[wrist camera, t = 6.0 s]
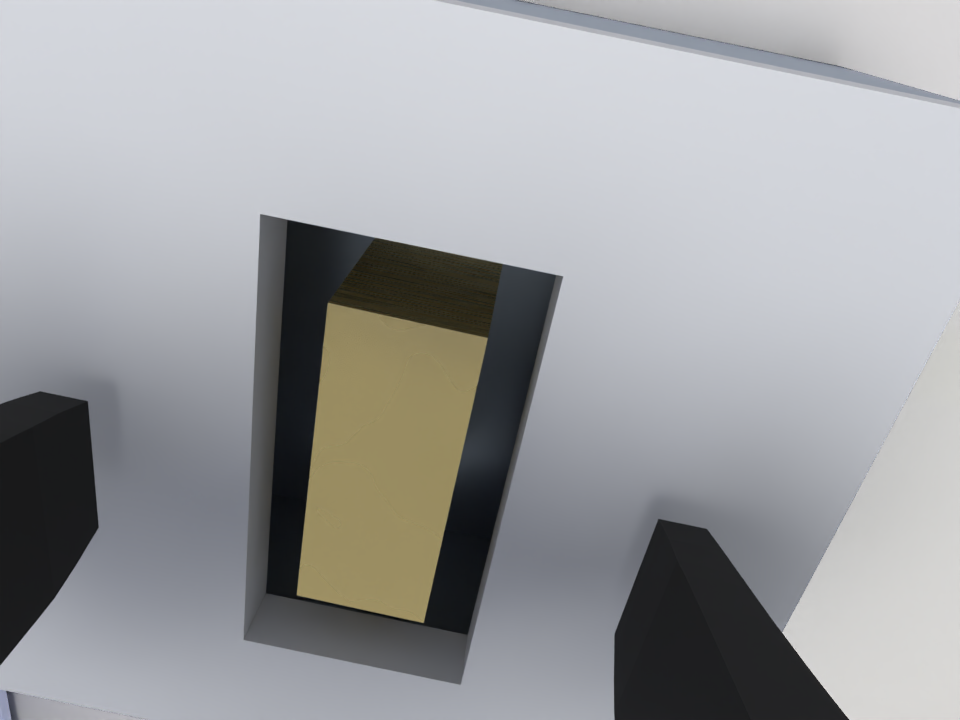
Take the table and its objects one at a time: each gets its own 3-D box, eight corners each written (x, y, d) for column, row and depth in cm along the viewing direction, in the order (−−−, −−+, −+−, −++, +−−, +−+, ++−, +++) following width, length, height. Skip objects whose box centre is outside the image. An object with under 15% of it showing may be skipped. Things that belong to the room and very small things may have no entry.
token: (461, 442, 16) (423, 622, 11) (370, 422, 16) (296, 595, 11) (511, 221, 13) (488, 337, 9) (404, 196, 13) (327, 302, 9)
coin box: (641, 579, 18) (676, 829, 13) (165, 481, 18) (0, 689, 13) (840, 66, 12) (1052, 126, 7) (149, -76, 12) (-158, -121, 7)
